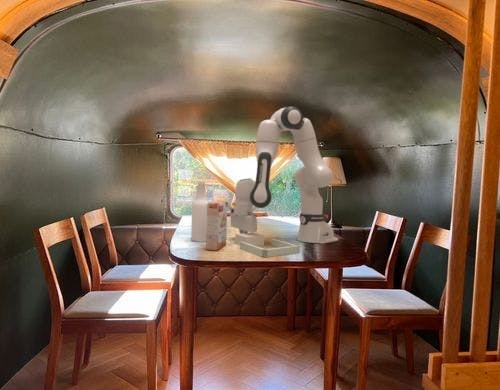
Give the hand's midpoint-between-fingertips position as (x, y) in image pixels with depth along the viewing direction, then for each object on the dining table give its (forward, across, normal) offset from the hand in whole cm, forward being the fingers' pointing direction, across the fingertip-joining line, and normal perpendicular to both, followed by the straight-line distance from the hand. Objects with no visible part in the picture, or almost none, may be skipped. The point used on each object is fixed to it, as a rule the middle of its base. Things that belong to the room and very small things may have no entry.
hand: (243, 238), depth 171 cm
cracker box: (+2, -7, +18) cm, 19 cm away
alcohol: (+2, +11, +18) cm, 22 cm away
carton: (+2, -7, +1) cm, 8 cm away
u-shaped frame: (+2, -22, 0) cm, 22 cm away
